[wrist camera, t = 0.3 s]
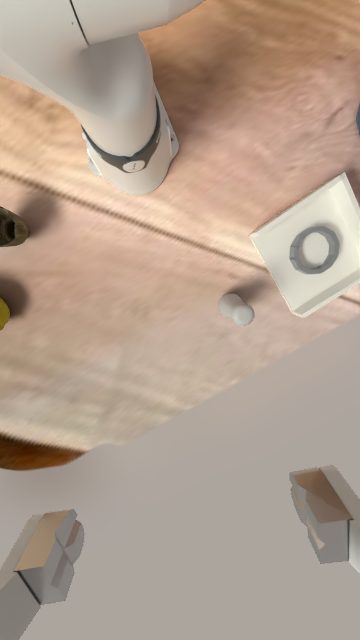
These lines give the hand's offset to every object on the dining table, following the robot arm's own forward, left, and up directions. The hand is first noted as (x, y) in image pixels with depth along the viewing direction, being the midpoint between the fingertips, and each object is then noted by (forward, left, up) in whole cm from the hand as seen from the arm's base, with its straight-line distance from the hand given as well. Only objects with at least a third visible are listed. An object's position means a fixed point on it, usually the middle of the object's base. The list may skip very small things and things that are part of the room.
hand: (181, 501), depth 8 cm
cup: (-23, -28, -47) cm, 60 cm away
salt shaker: (+4, +13, -47) cm, 49 cm away
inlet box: (-4, +33, -47) cm, 58 cm away
